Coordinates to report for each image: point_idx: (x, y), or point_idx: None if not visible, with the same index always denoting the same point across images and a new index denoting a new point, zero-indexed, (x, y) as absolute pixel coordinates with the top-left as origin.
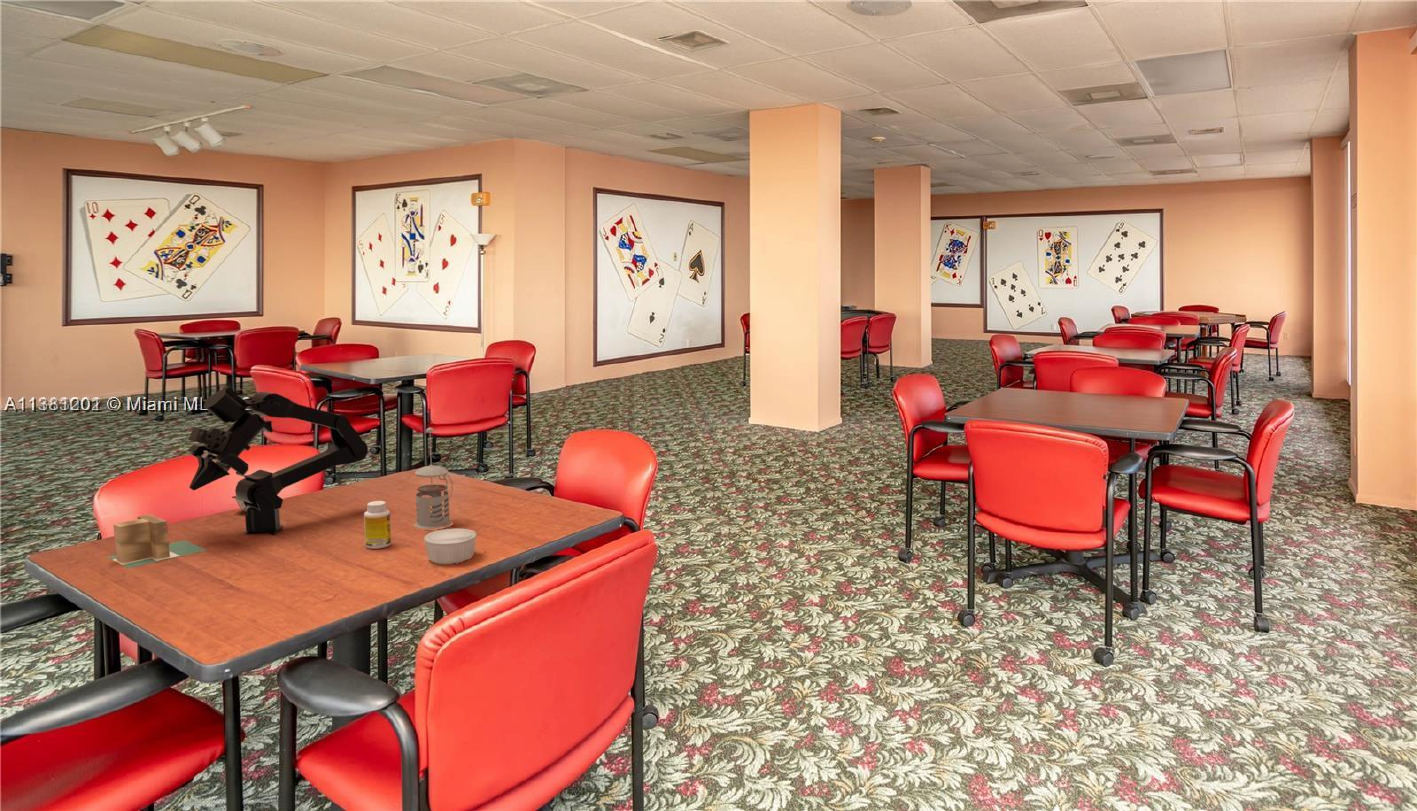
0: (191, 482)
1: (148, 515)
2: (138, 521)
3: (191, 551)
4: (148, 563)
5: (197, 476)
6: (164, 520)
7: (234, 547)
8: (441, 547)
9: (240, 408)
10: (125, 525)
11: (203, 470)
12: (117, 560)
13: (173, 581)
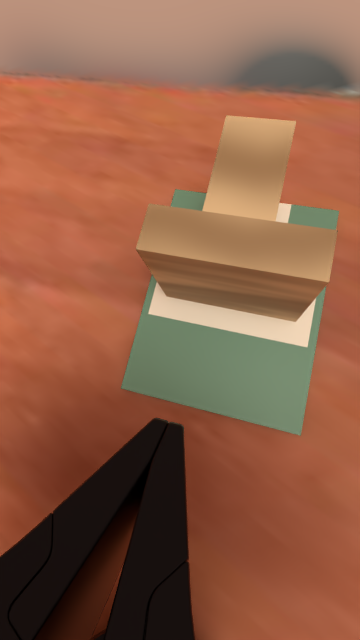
0: (182, 459)
1: (310, 264)
2: (241, 189)
3: (153, 356)
4: None
5: (111, 508)
6: (155, 249)
7: (88, 462)
8: None
9: None
10: (227, 135)
11: (5, 582)
12: None
13: (3, 201)
